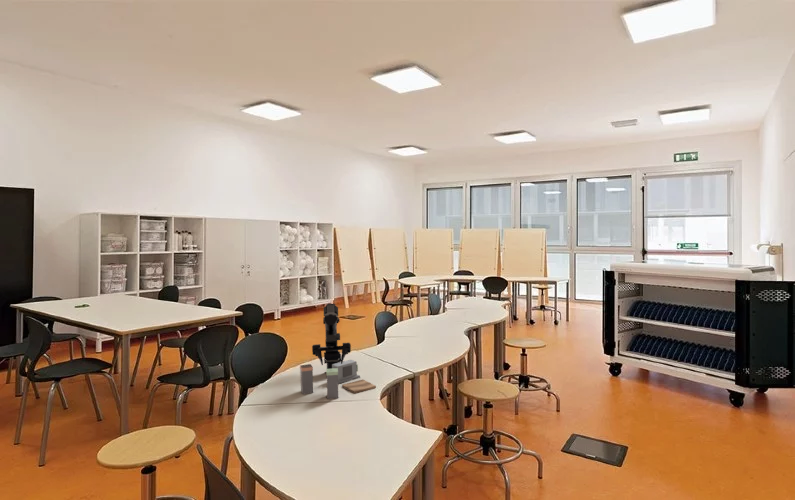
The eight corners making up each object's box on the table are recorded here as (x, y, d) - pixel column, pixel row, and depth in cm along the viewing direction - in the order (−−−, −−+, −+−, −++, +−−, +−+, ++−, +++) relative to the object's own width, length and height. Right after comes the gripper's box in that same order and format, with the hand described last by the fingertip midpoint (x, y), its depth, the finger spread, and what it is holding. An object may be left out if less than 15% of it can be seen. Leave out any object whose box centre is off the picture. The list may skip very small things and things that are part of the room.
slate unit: (329, 380, 228) (328, 364, 228) (351, 374, 237) (350, 358, 237) (337, 384, 222) (337, 367, 222) (360, 377, 231) (359, 361, 231)
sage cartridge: (327, 394, 208) (326, 368, 207) (338, 394, 209) (337, 368, 208) (327, 399, 203) (326, 372, 202) (338, 398, 204) (337, 371, 203)
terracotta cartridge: (300, 390, 214) (299, 365, 213) (311, 389, 216) (310, 364, 215) (302, 394, 209) (301, 368, 209) (313, 392, 211) (312, 367, 210)
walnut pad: (342, 386, 219) (342, 384, 218) (363, 381, 226) (363, 379, 225) (354, 393, 209) (354, 391, 209) (375, 387, 216) (375, 385, 216)
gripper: (311, 328, 215) (311, 357, 205) (350, 326, 218) (351, 354, 208) (312, 340, 224) (312, 368, 213) (349, 338, 226) (351, 366, 216)
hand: (332, 364), depth 212 cm, fingers open, 9 cm apart
